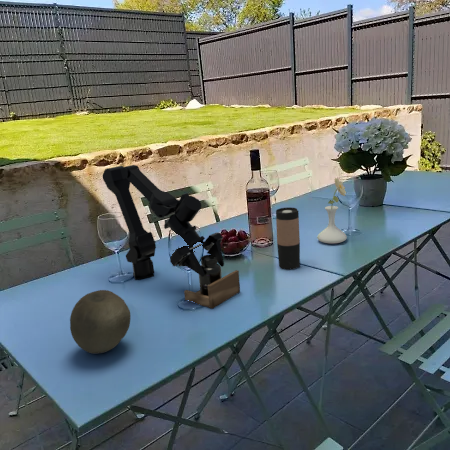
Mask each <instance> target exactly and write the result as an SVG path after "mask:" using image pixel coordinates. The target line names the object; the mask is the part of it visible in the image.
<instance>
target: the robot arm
mask: <svg viewBox="0 0 450 450" xmlns="http://www.w3.org/2000/svg"><path fill="white" fill-rule="evenodd" d="M102 180H103V182H104V184H105V185H106V187H107V190H108V191H110V192H111V193H112V194H114V196H115V198H116V200H117V203H118V207H119V208H120V211H121V214H122V217H123V219H124V222H125V225H126V227H127V230H128V233H129V238H128V246H129V247H128V248H129V250H128V251H127V253H126V255H125V258H126V261H127V262H128V263H131V264H132V271H133V272H132V274H133V277H134V280H141V279H142V280H143V279H147V278H151V277H155V274H154V273H155V268H154V261H153V260H152V258H153V257H155V256H156V255H155V254H156V248H157V245H156V243H157V241H156V240H155V238H154V235H153V233H152V232H151V231H147V230H146V229H145V228H144V226H143V223H142V220H141V217H140V215H139V212H138V210H137V208H136V204H135V201H134V199H133V196H132V194H131V191H130V186H131V185H133V187H135V189H136V190H137V191H138V192H140V194H141V195H142V196H143V197H144V198H145V199H146V200H147V202H149V208H150V209H151V211H152V212H153V214H154V216H156V217H158V218H159V219H163V218H167V217H168V218H167V219H165V220H164V225H163V227H164V229H165V230H167V229H170V230H171V231H172V232H173V231H174V232H175V233H176V234H178V235H180V236H181V237H182V238H183V239H184V241H185V242H186V243H187V245H189V246H183V247H181V248H179V247H177V248H178V249H177V248H176V249H175V252H174V253H173V254H172V256H171V257H170V256H169V257H170V258H169V262H170V263H171V265H172V266H173V267H177V266H178V267H179V268H180V267H187V268H188V269H190V270H192V271H193V272H194V273H197V274H198V276H199V275H201V276H202V277H203V276H205V273H204V271H203V269H202V267H201V265H202V264H201V262H199V260H198V258H197V256H196V254H195V253H196V252H195V251H194V252H195V253H194V252H193V249H195V248H197V247H199V246H201V245H202V244H199V245H197V246H195V247H193V245H194V244H196V243H197V242H201V243H203V245H202V246H203V249H202V250H206V255H216V256H217V264H219V265H220V267H221V268H223V267H224V266H225V261H224V256H223V252H222V245H221V243H222V242H223V241H222V240H223V239H224V237H223V236H222V234H221V233H220V232H217V231H216V232H214V233H212V234H209V235H208V236H207V238H205V237H204V236H203V235H202V236H200V235H199V233H198V232H197V226H196V225H193V226H192V224H191V222H192V221H193V220H194V218H195V217H196V216H197V214H198V213H199V211H200V210H201V208H202V203H201V201H200V199H198V198H196V197H195V196H192V195H189V193H188V192H186V193H183V194H181V196H180V198H179V199H177V198H176V197H175V196H174V195H172V194H171V193H170V192H167V191H164V190H162V189H160V188H159V187H158V186H156V184H155V183H154V182H153V181H151V180H150V178H148V176H146V175H145V174H144V173H143V172H142V171H141V170H140V168H139V166H138V165H135V164H131V165H127V166H123V165H118V166H114V167H109V168H105V169H104V171H103V173H102ZM174 232H173V233H174ZM188 247H189V248H188Z"/></svg>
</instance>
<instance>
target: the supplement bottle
mask: <svg viewBox="0 0 450 450" xmlns="http://www.w3.org/2000/svg"><path fill="white" fill-rule="evenodd" d="M200 265H201V267H202V269H203V271H204V273H205V276H203V277H202V276H201V275H199V274H198V281H199V290H200V294H202V295H205V296H208V285H210V284H211V283H213V282H215V281H217V280H219V279H221V278H222V266H221V265H220V264H219V263H218V262H217V256H216V255H211V254H205V255H202V256H201V257H200Z"/></svg>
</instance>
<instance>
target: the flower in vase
mask: <svg viewBox="0 0 450 450" xmlns="http://www.w3.org/2000/svg"><path fill="white" fill-rule="evenodd" d="M333 182H334V185H335V187H336V189H335V191H334V193H333V197H332V200H331V199H329V200H328V203H327V204H330V205H328V206H325V207H324V209H325V210H326V212H327V215H328V223H327V227H326V228H324V229H323V230H322V231H321V232H319V233H318V235H317V237H316V239H317V240H318V241H319V242H321V243H325V244H339V243H342V242H344V241H345V242H346V240H347V238H348V235H346V233H345V232H343V230H341V229H340V228H338V227H337V226H336V223H335V219H336V218H335V217H336V212H337V210H338V209H339V207H338V206H337V205H336V206H335V205H334V203H338V202H339V200H340V199H339V198H338V196H337V195H336V192H337V191H338V193H339V194H340V195H341V196H343V197H346V194H347V192H346V190H345V189H346V187H345V186H344V184H343V182H342V180H340V178H338V177H337V178H336V177H334V181H333ZM335 195H336V196H335Z"/></svg>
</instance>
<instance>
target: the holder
mask: <svg viewBox="0 0 450 450" xmlns="http://www.w3.org/2000/svg"><path fill="white" fill-rule="evenodd" d="M240 284H241V283H240V272H239V270H237V269H236V270H234V271H231V272H229V273H228V274H226V275H225V276H223V277H222V278H221V279H219V280H217V281H215V282H213V283H211V284H210V285H208V296H205V295H202V294H200V289H199V290H198V291H192V290H188V289H185V290H184V291H183V293H184V301H186V300H189V301H193V302H195V303H194V304H196V303H197V304H196V305H199V304H200V305H199V306H202V307H205V308H208V309H211V310H213V309H215V308H216V307H218V306H220V305H221V304H223V303H225V302H226V301H227V300H229V299H231V298H233V297H235V296H236V295H237V294H240V293H241V285H240ZM189 301H188V302H189Z"/></svg>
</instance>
